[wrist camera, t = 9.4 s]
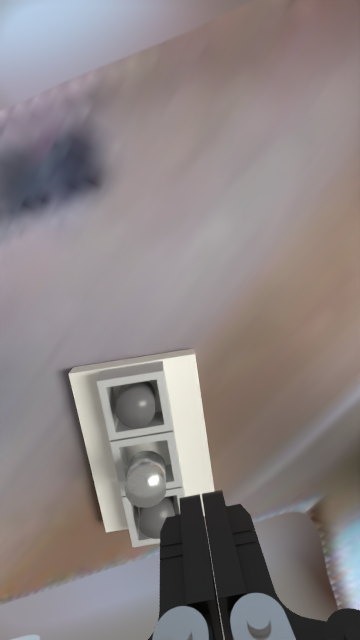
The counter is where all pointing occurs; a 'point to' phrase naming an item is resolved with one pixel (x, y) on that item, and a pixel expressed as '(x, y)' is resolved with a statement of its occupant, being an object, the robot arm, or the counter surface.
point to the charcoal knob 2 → (156, 517)
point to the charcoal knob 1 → (136, 404)
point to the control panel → (143, 432)
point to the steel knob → (146, 479)
